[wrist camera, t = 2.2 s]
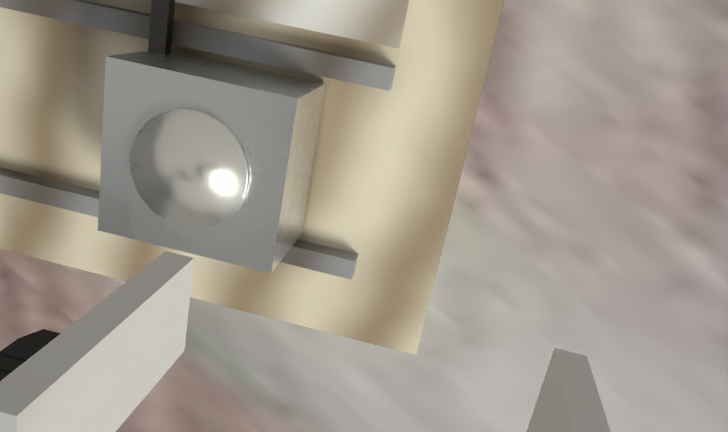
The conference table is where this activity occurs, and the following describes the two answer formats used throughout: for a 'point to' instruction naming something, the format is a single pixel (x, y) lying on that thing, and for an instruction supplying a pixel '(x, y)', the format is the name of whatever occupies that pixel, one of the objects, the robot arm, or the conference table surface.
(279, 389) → the conference table surface
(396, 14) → the base
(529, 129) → the conference table surface
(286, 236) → the grey dimpled block
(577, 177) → the conference table surface
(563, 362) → the robot arm
